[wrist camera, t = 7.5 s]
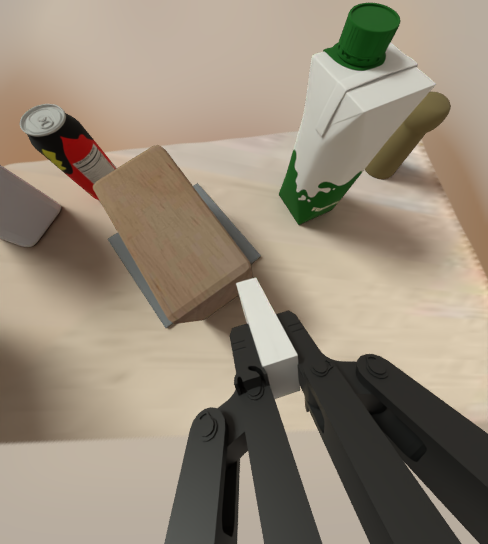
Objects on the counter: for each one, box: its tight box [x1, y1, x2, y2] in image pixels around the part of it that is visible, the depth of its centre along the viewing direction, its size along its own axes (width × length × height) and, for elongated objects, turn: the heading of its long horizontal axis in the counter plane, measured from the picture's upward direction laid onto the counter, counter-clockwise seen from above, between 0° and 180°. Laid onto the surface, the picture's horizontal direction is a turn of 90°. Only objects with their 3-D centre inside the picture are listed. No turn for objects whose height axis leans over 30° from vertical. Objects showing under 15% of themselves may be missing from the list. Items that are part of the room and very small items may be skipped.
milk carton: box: [279, 3, 436, 225], centre depth 23 cm, size 9×9×20 cm
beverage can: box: [20, 104, 117, 200], centre depth 28 cm, size 6×6×12 cm
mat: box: [108, 183, 261, 328], centre depth 30 cm, size 18×18×1 cm
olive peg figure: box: [365, 92, 451, 179], centre depth 30 cm, size 6×6×11 cm
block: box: [93, 145, 253, 324], centre depth 24 cm, size 10×10×20 cm
